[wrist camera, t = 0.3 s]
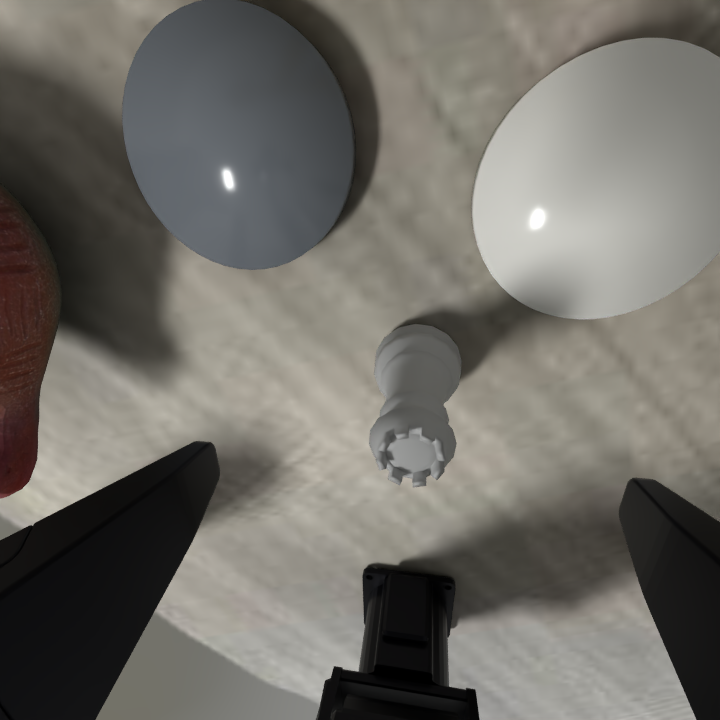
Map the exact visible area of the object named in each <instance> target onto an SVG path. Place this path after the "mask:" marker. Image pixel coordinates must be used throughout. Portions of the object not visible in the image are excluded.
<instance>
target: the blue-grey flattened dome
mask: <svg viewBox="0 0 720 720" xmlns="http://www.w3.org/2000/svg"><path fill="white" fill-rule="evenodd" d="M122 122H123V133H124V141H125V146H126V151H127V156H128V159H129V162H130V166H131V169H132V172H133V174H134V177H135V179H136V182H137V184H138V186H139V188H140V190H141V192H142V194H143V196H144V198H145V200H146V202H147V203H148V205H149V206H150V208H151V209H152V211H153V212H154V214H155V215H156V216H157V217H158V219H159V220H160V221H161V222H162V224H163V225H164V226H165V227H166V228H167V229H168V230H169V231H170V232H171V233H172V234H173V235H174V236H175V237H176V238H177V239H178V240H179V241H181V242H182V243H183V244H184V245H186V246H187V247H188V248H190V249H191V250H193V251H194V252H196V253H198V254H199V255H201V256H203V257H205V258H207V259H209V260H211V261H213V262H216V263H219V264H222V265H225V266H229V267H233V268H238V269H249V270H255V269H267V268H272V267H277V266H280V265H283V264H286V263H288V262H291V261H292V260H294V259H296V258H298V257H300V256H302V255H303V254H304V253H306V252H307V251H308V250H310V249H311V248H313V247H314V246H315V245H316V244H318V243H319V242H320V241H321V240H322V239H323V238H324V237H325V236H326V235H327V234H328V233H329V231H330V230H331V229H332V227H333V226H334V225H335V224H336V222H337V220H338V219H339V217H340V215H341V213H342V212H343V210H344V207H345V205H346V203H347V200H348V198H349V195H350V191H351V187H352V184H353V179H354V172H355V166H356V142H355V131H354V126H353V121H352V116H351V112H350V109H349V106H348V103H347V99H346V96H345V94H344V92H343V90H342V87H341V85H340V83H339V81H338V79H337V77H336V76H335V74H334V72H333V71H332V69H331V67H330V66H329V64H328V63H327V61H326V60H325V59H324V57H323V56H322V55H321V54H320V52H319V51H318V50H317V49H316V48H315V47H314V46H313V45H312V44H311V43H310V42H309V41H308V40H307V39H306V38H305V37H304V36H303V35H302V34H301V33H300V32H299V31H297V30H296V29H295V28H294V27H293V26H291V25H290V24H289V23H287V22H286V21H285V20H283V19H282V18H281V17H279V16H277V15H275V14H274V13H272V12H270V11H268V10H266V9H264V8H262V7H259V6H256V5H254V4H251V3H248V2H244V1H239V0H203V1H197V2H194V3H191V4H189V5H186V6H184V7H181V8H179V9H177V10H176V11H174V12H173V13H171V14H169V15H168V16H166V17H165V18H164V19H163V20H162V21H161V22H159V23H158V24H157V25H156V26H155V27H154V28H153V29H152V30H151V32H150V33H149V34H148V35H147V37H146V38H145V39H144V41H143V42H142V44H141V46H140V47H139V49H138V51H137V53H136V54H135V57H134V59H133V62H132V64H131V67H130V69H129V73H128V76H127V80H126V84H125V90H124V97H123V113H122Z"/></svg>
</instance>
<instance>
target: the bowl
mask: <svg viewBox="0 0 720 720" xmlns="http://www.w3.org/2000/svg"><path fill="white" fill-rule="evenodd" d="M60 311H61V284H60V278H59V273H58V269H57V266H56V263H55V260H54V256H53V253H52V251H51V249H50V247H49V245H48V243H47V241H46V240H45V238H44V236H43V235H42V233H41V231H40V230H39V228H38V227H37V226H36V224H35V223H34V221H33V220H32V219H31V217H30V216H29V214H28V213H27V212H26V210H25V209H24V208H23V207H22V205H21V204H20V203H19V202H18V200H17V199H16V198H15V197H14V196H13V195H12V194H11V193H10V192H9V191H8V190H7V189H6V188H5V187H4V186H3V185H2V184H1V183H0V498H4V497H7V496H10V495H11V494H13V493H15V492H17V491H19V490H21V489H22V488H23V487H24V486H25V485H26V484H27V483H28V482H29V480H30V478H31V475H32V473H33V470H34V467H35V464H36V461H37V452H38V426H39V397H40V389H41V384H42V381H43V377H44V374H45V371H46V367H47V364H48V360H49V357H50V353H51V350H52V346H53V343H54V339H55V336H56V332H57V328H58V323H59V316H60Z"/></svg>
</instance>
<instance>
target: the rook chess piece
mask: <svg viewBox="0 0 720 720" xmlns="http://www.w3.org/2000/svg"><path fill="white" fill-rule="evenodd" d="M461 364H462V361H461V357H460V353H459V349H458V347H457V345H456V344H455V343H454V342H453V340H452V339H451V338H450V337H449V335H448V334H446V333H444V332H442V331H441V330H439V329H437V328H435V327H433V326H427V325H420V324H412V325H408V326H404V327H400V328H397V329H396V330H394V331H393V332H391V333H390V334H389V335H387V336H386V337H384V339H383V341H382V342H381V344H380V346H379V347H378V349H377V351H376V360H375V370H374V375H375V378H376V381H377V384H378V386H379V389H380V391H381V392H382V393H383V395H384V396H385V397H386V402H385V404H384V405H383V407H382V408H381V410H380V417H379V418H378V419H377V421H376V422H375V424H374V425H373V427H372V428H371V430H370V438H369V445H370V447H371V450H372V453H373V455H374V457H375V458H376V462H377V465H378V468H379V470H383V469H387V470H389V476H388V480H390V481H392V482H394V483H396V484H398V485H400V483H401V481H402V477H407V478H413V481H412V482H413V487H420V486H426V477H427V476H429V475H431V476H432V477H434V478H435V479H436V480H438V479H439V477H440V476H441V475H442V474H443V473H444V468H445V466H446V465H447V464H448V463H449V462H450V460H451V459H452V458H453V457H454V452H455V448H456V444H457V443H456V440H455V436H454V432H453V429H452V428H451V427H450V426H449V425H448V422H449V419H448V415H447V412H446V408H445V407H444V406H443V404H444V403H445V402H446V401H448V400H449V398H450V397H451V396H452V394H453V393H454V392H455V390H456V389H457V387H458V385H459V380H460V375H461Z"/></svg>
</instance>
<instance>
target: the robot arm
mask: <svg viewBox="0 0 720 720" xmlns="http://www.w3.org/2000/svg"><path fill="white" fill-rule="evenodd" d="M219 476H220V468H219V464H218V459H217V454H216V449H215V446H214V444H213V443H211V442H202V441H195V442H193V443H191V444H189V445H187V446H185V447H183V448H181V449H179V450H177V451H175V452H173V453H171V454H169V455H167V456H165V457H163V458H161V459H159V460H157V461H155V462H153V463H152V464H150V465H148V466H146V467H144V468H142V469H140V470H138V471H136V472H134V473H132V474H130V475H128V476H126V477H124V478H122V479H120V480H118V481H116V482H114V483H112V484H110V485H108V486H106V487H104V488H103V489H101V490H99V491H97V492H95V493H93V494H91V495H89V496H87V497H85V498H83V499H81V500H79V501H77V502H75V503H73V504H71V505H69V506H67V507H65V508H63V509H61V510H59V511H57V512H55V513H54V514H52V515H50V516H48V517H46V518H44V519H42V520H40V521H38V522H36V523H35V524H34V525H33V526H32V525H30V526H28V527H26V528H24V529H22V530H20V531H18V532H16V533H14V534H12V535H10V536H9V537H6V538H4V539H2V540H0V720H95V719H96V717H97V716H98V714H99V712H100V710H101V708H102V706H103V705H104V703H105V701H106V699H107V697H108V696H109V694H110V692H111V690H112V688H113V686H114V684H115V683H116V681H117V679H118V677H119V675H120V673H121V672H122V670H123V668H124V666H125V664H126V662H127V661H128V659H129V657H130V655H131V653H132V652H133V650H134V648H135V646H136V644H137V642H138V640H139V639H140V637H141V635H142V633H143V631H144V630H145V627H146V626H147V624H148V622H149V620H150V619H151V617H152V615H153V613H154V611H155V609H156V608H157V606H158V604H159V602H160V600H161V598H162V597H163V595H164V593H165V591H166V589H167V587H168V586H169V584H170V582H171V580H172V578H173V576H174V575H175V573H176V571H177V569H178V567H179V565H180V564H181V562H182V560H183V558H184V556H185V554H186V553H187V551H188V549H189V547H190V545H191V543H192V541H193V539H194V537H195V535H196V533H197V530H198V528H199V526H200V523H201V521H202V519H203V516H204V514H205V511H206V509H207V507H208V504H209V502H210V499H211V497H212V495H213V492H214V490H215V488H216V485H217V483H218V480H219ZM619 518H620V522H621V526H622V529H623V532H624V535H625V539H626V542H627V545H628V548H629V552H630V555H631V558H632V561H633V564H634V568H635V571H636V574H637V577H638V581H639V584H640V587H641V590H642V592H643V595H644V598H645V600H646V603H647V605H648V608H649V610H650V612H651V615H652V617H653V619H654V622H655V624H656V626H657V629H658V631H659V633H660V636H661V638H662V640H663V643H664V645H665V647H666V650H667V652H668V654H669V657H670V659H671V661H672V664H673V666H674V668H675V671H676V673H677V675H678V678H679V680H680V682H681V685H682V687H683V689H684V692H685V694H686V696H687V699H688V701H689V703H690V706H691V708H692V710H693V713H694V715H695V717H696V720H720V522H719V521H717V520H716V519H714V518H713V517H711V516H710V515H708V514H706V513H705V512H703V511H702V510H700V509H699V508H697V507H696V506H694V505H693V504H691V503H690V502H688V501H687V500H685V499H683V498H682V497H680V496H679V495H677V494H676V493H674V492H673V491H671V490H670V489H668V488H667V487H665V486H664V485H662V484H660V483H659V482H657V481H656V480H653V479H643V478H632V479H630V480H629V481H628V483H627V486H626V489H625V492H624V495H623V498H622V501H621V504H620V508H619ZM454 595H455V581H454V580H453V579H451V578H448V577H440V576H432V575H424V574H416V573H408V572H400V571H392V570H384V569H376V568H365V569H364V571H363V602H364V624H365V630H364V637H363V644H362V651H361V658H360V665H359V672H356V671H350V670H344V669H343V668H342V667H336V666H334V668H333V672H332V676H331V678H330V679H328V680H325V684H324V689H323V693H322V698H321V703H320V707H319V711H318V715H317V718H316V720H479V713H478V705H477V698H476V691H475V689H470V688H466V690H465V689H459V688H453V687H449V672H448V639H447V638H448V637H449V635H450V628H451V619H452V611H453V603H454Z"/></svg>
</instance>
